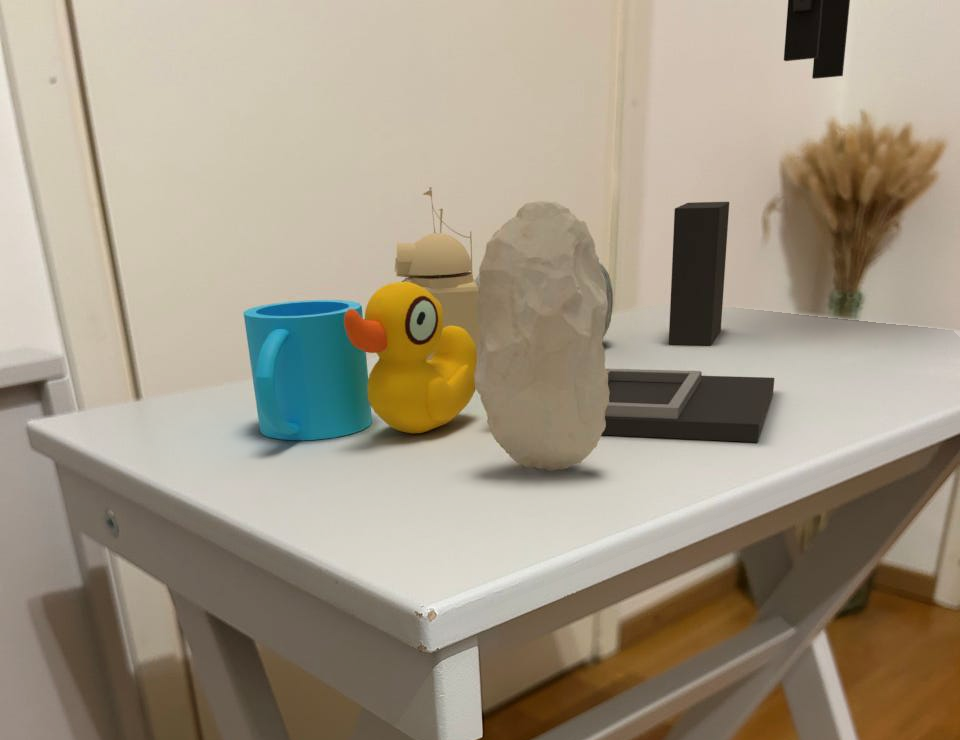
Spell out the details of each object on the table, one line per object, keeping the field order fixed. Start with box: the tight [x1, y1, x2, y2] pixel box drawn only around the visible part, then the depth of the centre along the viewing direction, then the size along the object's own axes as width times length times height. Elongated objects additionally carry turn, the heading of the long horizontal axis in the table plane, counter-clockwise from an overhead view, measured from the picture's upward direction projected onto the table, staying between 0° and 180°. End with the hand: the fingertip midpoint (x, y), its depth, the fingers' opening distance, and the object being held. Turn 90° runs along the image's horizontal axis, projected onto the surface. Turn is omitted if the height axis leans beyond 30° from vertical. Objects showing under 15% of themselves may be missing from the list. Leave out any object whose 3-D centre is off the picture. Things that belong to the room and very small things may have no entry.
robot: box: [394, 186, 481, 361], centre depth 82 cm, size 10×8×15 cm
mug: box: [243, 299, 373, 441], centre depth 69 cm, size 12×8×8 cm
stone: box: [474, 200, 610, 471], centre depth 57 cm, size 8×5×15 cm
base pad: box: [601, 368, 775, 443], centre depth 72 cm, size 18×14×2 cm
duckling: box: [344, 281, 477, 434], centre depth 68 cm, size 11×5×10 cm, turn 140°
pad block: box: [668, 201, 730, 346], centre depth 95 cm, size 4×8×12 cm, turn 161°
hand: (814, 69), depth 90 cm, fingers open, 13 cm apart
